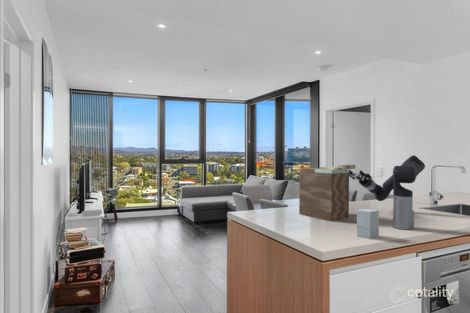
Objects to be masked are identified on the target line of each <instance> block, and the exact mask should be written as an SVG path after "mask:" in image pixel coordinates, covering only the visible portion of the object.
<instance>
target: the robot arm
mask: <svg viewBox="0 0 470 313" xmlns="http://www.w3.org/2000/svg"><path fill="white" fill-rule="evenodd" d="M425 168H426V165H425V163H424V162H423V161H422V160H421V159H420V158H419V157H417V156H416V155H411V156H410V157H408V158H407V159H405V160H404V162H403V163H401V165H395V166H394V167H393V169H392V174H391V176H390V177H389V178H388V179H386V180H385V181H384V182H383V183H382V186H381V185H380V184H377V183H376V181H375V180H374V179H373V176H371V175H370V174H369V173H366V172H364V171H363V170H359V173H357V172H354V171H352V169H348V170H349V178H351V179H352V180H357V181H358V183H359V184H360V185H361V187H363V188H364V189H365V190H367V191H368V192H370V193H371V194H373V195H374V197H375V199H376V200H377V202H382V201H384V200H386V199H387V198H388V196H389V195H390V194H391V192H392V193H393V194H392V206H393V207H392V227H393V228H394V229H398V230H412V229H414V228H415V210H413V194H414V193H413V191H412V190H410V189H408V188H405V187H404V186H402V185H401V184H412V183H415V181H416V178H417V177H418V175H419V174H420V173H422V172H423V170H425Z"/></svg>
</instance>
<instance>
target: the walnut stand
mask: <svg viewBox="0 0 470 313" xmlns="http://www.w3.org/2000/svg"><path fill="white" fill-rule="evenodd" d="M349 170H350V169H347V170H328V169H320V167H303V168H302V167H300V168H299V189H298V190H299V198H298V200H299V201H298V202H299V203H298V206H299V209H298V210H299V212H298V213H299V214H298V215H302V216H306V217H309V218H313V219H320V220H324V221H327V222H336V221H342V220H348V219H349V214H350V213H349V212H350V209H349V208H350V206H349V205H350V200H349V199H350V176H349Z"/></svg>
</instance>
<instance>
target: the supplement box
mask: <svg viewBox="0 0 470 313" xmlns="http://www.w3.org/2000/svg"><path fill="white" fill-rule="evenodd" d="M379 213H380V212H379V210H378V209H377V210H376V209H370V208H362V209H361V208H360V209H357V210H356V237H362V238H365V239H369V240H370V239H375V238H379V236H380V235H379V234H380V233H379V232H380V229H379V228H380V226H379V225H380V224H379V223H380V222H379V221H380V220H379V219H380V218H379V217H380V216H379V215H380V214H379Z"/></svg>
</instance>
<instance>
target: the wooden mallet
mask: <svg viewBox="0 0 470 313" xmlns="http://www.w3.org/2000/svg"><path fill="white" fill-rule="evenodd" d="M319 168H320V169H328V170H347V169H348V170H355V169H356V164H338V166H322V167H321V166H320V167H319Z"/></svg>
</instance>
